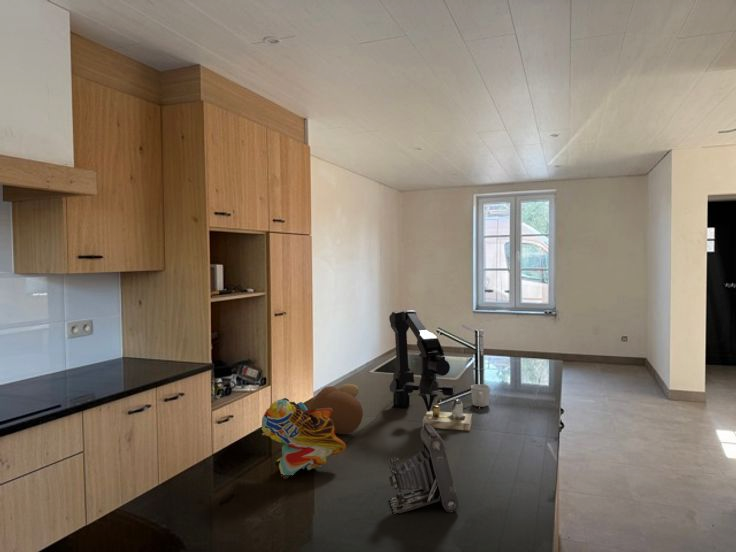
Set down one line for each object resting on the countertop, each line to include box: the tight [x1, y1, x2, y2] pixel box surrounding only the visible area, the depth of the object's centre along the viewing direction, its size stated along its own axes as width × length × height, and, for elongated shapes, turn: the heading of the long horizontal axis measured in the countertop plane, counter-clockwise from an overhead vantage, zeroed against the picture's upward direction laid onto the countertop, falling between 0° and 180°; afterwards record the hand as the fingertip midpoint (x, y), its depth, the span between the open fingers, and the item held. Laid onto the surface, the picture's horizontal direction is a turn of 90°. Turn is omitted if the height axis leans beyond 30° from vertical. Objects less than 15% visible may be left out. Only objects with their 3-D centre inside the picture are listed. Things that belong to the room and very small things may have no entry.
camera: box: [388, 423, 460, 514], centre depth 127 cm, size 11×17×20 cm, turn 95°
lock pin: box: [432, 404, 449, 418], centre depth 192 cm, size 6×3×6 cm, turn 74°
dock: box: [422, 410, 473, 431], centre depth 191 cm, size 17×12×2 cm
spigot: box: [451, 398, 464, 420], centre depth 190 cm, size 4×4×9 cm
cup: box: [470, 383, 491, 408], centre depth 213 cm, size 11×8×8 cm
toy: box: [307, 383, 364, 435], centre depth 182 cm, size 24×16×20 cm
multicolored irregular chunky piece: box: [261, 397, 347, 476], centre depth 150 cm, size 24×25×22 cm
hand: (428, 411), depth 193 cm, fingers closed
